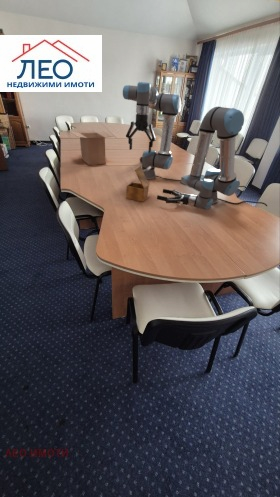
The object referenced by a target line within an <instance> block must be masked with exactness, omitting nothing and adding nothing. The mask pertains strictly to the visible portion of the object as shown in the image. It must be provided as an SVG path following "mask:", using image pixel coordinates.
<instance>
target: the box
mask: <svg viewBox="0 0 280 497" xmlns="http://www.w3.org/2000/svg"><path fill="white" fill-rule="evenodd" d="M70 133H71V134H72V135H74V136H75V137H77V138H79V144H80V153H81V160H83V162H85V163H86V165H87V166H95V165H97V166H98V165H106V163H107V162H106V158H107V157H106V138H113V137H114V136H113V135H111V134H109V133H108V132H105V131H98V132H96V131H95V130H92V129H91V130H77V132H76V131H70Z"/></svg>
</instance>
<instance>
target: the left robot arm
mask: <svg viewBox="0 0 280 497" xmlns="http://www.w3.org/2000/svg"><path fill="white" fill-rule="evenodd" d="M122 97H123V99H124V100H128V101H132V102H136V104H135V105H136V106H135V107H136V108H135V113H136V114H135V121H131V122H130V126H129V128H128V130H127V132H126V134H125V138H127V139H128V142H127V143H128V145H129V150H131V151H132V150H133V136H134V135H135V134H136V133H137V132H138V131H139V132H144V133H145V134H146V136H147V138H148V140H149V142H148V150H145V151H143V152H142V157H143V158H142V163H141V168H142V170H145V169H146V168H148V167H149V166H151V169H150V170H148V171H144V174H145V176H146V179H147V181H154V180H156V178H160V179H162V180H166V181H173V182H174V181H175V182H181V179H173V178H167V177H162V176H160V175H159V176H158V175H157V174H156V169H161V170H169V169H170V168H171V166H172V164H173V161H174V156H173V155H172V151H171V146H172V138H173V133H174V132H173V131H174V127H175V126H174V125H175V120H176V118H177V117H178V114H180V112H181V109H182V100H181V96H180V95H179V94H175V93H162V92H160V93H159V91H158V89H157V88H156V87H155V86H151V83H150V82H145V81H144V82H143V81H139V82H137V85H130V84H127V85H126V84H125V85H124V86H123V87H122ZM149 108H150V109H152V110H154V111H158V112H162V114H161V115H162V117H163V121H162V128H161V136H160V137H161V138H160V145H159V150H155V149H154V150H153V149H152V148H153V146H154V142H156V141H157V137H156V134H155V131H154V128H153V123H149ZM134 126H135V128H134ZM133 128H134V129H133ZM155 168H156V169H155ZM239 188H244V189H247V187H246V186H245V185H239Z"/></svg>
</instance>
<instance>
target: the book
mask: <svg viewBox="0 0 280 497" xmlns="http://www.w3.org/2000/svg"><path fill="white" fill-rule="evenodd" d="M188 175H189V174H188ZM188 175H183V176H181V177H180V180H181V181H179V183H180V184H182V185H185V186H187V185H186V183H185V179H186V178H187V176H188ZM204 176H205V174H201V178H200V179H201V180H204Z"/></svg>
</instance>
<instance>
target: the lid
mask: <svg viewBox="0 0 280 497" xmlns="http://www.w3.org/2000/svg"><path fill="white" fill-rule="evenodd" d="M150 169H151V166H149V167H148V168H146V169H145V170H142V165H141V166H138V167H137V168H136V169H134V172H135V174H136V176H137V178H138V180H139V183H140V184H141V185H142V187H143V189H145V188H146V187H147V186H148V185H150V183H149V180H147V179H146V176H145V174H144V171H148V170H150Z"/></svg>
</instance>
